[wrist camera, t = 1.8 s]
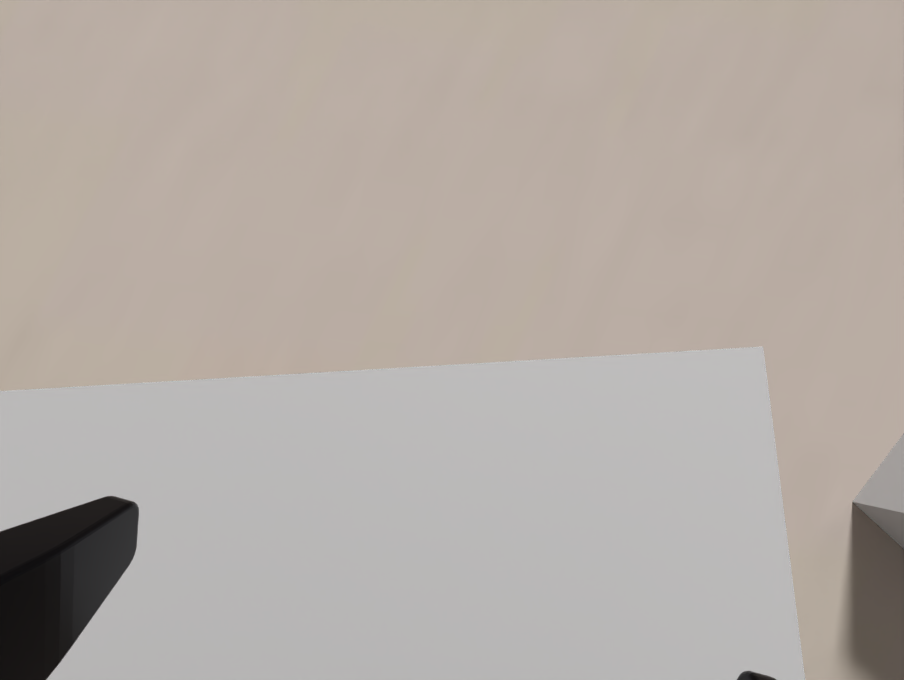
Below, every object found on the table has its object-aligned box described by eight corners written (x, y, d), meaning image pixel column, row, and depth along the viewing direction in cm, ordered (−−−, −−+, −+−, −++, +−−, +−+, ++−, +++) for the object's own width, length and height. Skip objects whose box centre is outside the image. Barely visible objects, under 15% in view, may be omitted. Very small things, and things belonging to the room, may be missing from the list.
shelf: (-17, 400, 22) (-144, 399, 17) (688, 358, 25) (762, 346, 20) (-26, 700, 21) (-166, 797, 16) (718, 621, 24) (805, 681, 19)
